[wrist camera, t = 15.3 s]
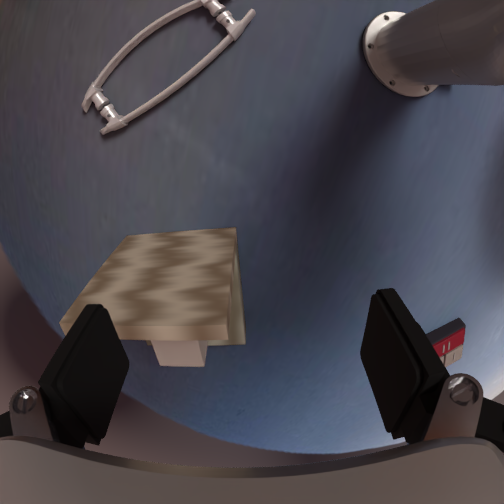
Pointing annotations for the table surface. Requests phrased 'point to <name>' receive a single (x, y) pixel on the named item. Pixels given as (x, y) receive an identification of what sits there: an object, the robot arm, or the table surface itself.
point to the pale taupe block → (181, 352)
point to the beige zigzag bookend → (171, 288)
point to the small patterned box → (448, 341)
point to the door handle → (119, 121)
